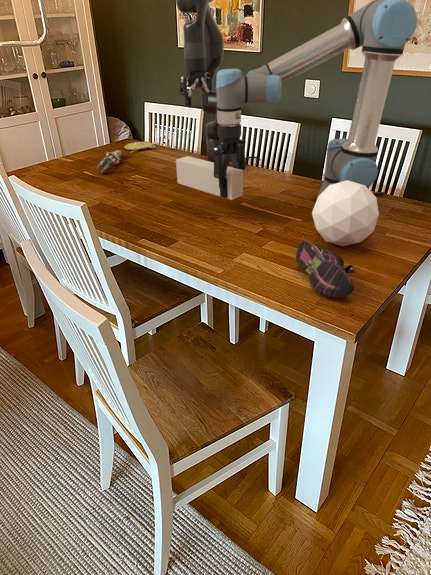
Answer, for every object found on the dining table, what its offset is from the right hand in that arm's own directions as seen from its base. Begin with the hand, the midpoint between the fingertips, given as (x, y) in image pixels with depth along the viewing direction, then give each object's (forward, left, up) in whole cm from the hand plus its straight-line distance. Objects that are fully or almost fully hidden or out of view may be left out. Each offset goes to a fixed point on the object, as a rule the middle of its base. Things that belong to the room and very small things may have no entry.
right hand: (230, 194), depth 151 cm
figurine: (+30, -83, -10) cm, 89 cm away
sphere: (-26, +30, -10) cm, 41 cm away
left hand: (+1, -32, +24) cm, 40 cm away
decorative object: (+10, -108, -10) cm, 109 cm away
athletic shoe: (-10, +48, -10) cm, 50 cm away
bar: (+5, -9, 0) cm, 10 cm away
